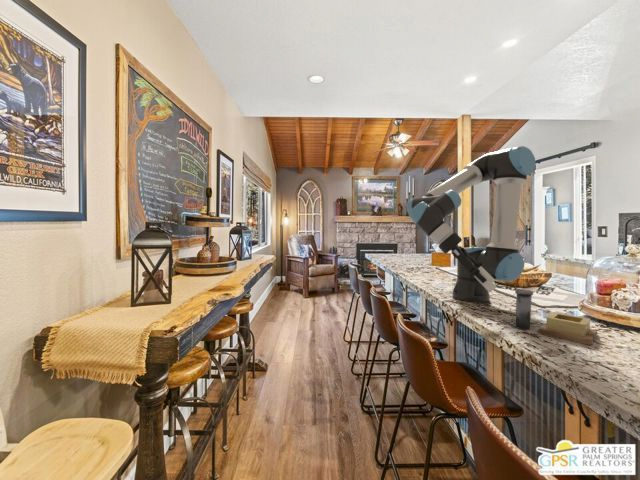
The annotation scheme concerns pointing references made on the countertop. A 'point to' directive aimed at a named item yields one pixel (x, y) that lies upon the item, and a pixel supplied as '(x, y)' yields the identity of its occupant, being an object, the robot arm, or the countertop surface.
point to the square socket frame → (568, 324)
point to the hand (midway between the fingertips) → (492, 286)
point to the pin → (523, 308)
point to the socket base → (570, 335)
